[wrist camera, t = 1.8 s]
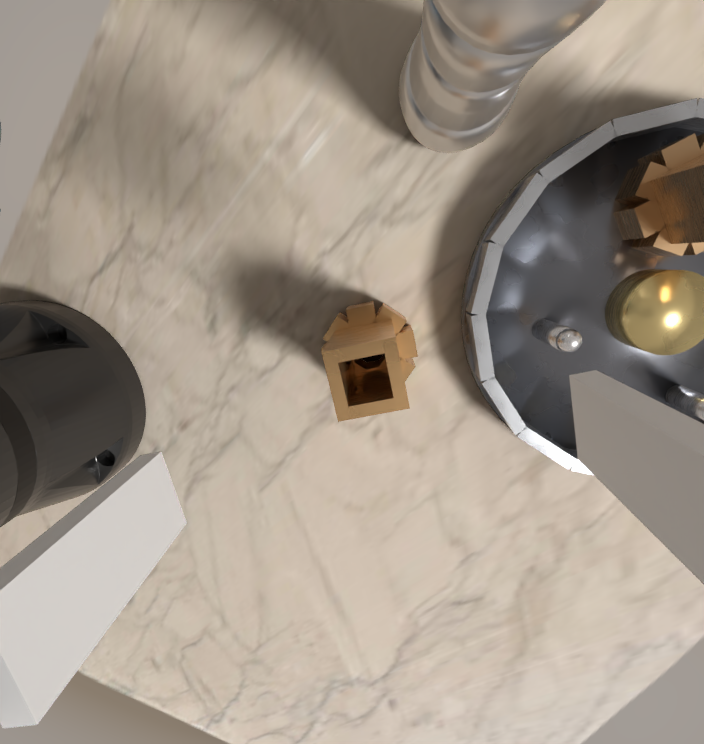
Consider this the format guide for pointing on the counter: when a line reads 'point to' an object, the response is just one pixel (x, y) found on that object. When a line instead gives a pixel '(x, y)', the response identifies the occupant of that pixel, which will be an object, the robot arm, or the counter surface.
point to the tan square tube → (665, 200)
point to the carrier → (582, 290)
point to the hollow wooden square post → (368, 379)
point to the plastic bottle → (477, 63)
